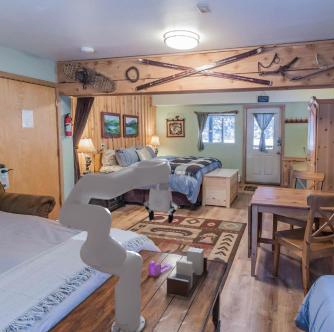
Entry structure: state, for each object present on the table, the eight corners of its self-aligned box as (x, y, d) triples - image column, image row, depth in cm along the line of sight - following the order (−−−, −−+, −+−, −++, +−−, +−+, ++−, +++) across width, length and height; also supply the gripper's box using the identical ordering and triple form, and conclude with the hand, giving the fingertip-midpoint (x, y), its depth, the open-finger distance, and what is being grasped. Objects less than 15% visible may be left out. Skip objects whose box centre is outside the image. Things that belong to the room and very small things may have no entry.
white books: (200, 275, 146) (200, 252, 144) (186, 273, 148) (186, 250, 146) (203, 271, 150) (203, 249, 149) (190, 269, 152) (190, 247, 151)
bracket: (155, 278, 144) (155, 265, 143) (148, 274, 147) (148, 262, 146) (173, 268, 155) (173, 256, 154) (166, 265, 158) (166, 253, 157)
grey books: (187, 295, 129) (187, 280, 128) (170, 291, 131) (170, 277, 130) (195, 283, 138) (195, 270, 137) (179, 280, 140) (179, 267, 139)
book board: (187, 299, 127) (188, 281, 126) (166, 295, 130) (166, 277, 128) (206, 272, 152) (207, 256, 151) (188, 269, 155) (188, 253, 153)
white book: (190, 288, 134) (191, 264, 132) (176, 285, 136) (176, 261, 134) (192, 286, 136) (192, 262, 134) (177, 283, 138) (178, 259, 136)
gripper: (139, 185, 123) (140, 221, 125) (174, 189, 119) (174, 226, 122) (148, 182, 130) (148, 216, 133) (181, 185, 126) (181, 220, 129)
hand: (161, 221), depth 127 cm, fingers open, 9 cm apart
